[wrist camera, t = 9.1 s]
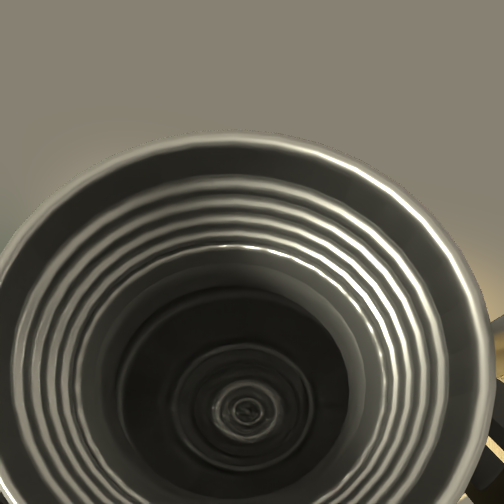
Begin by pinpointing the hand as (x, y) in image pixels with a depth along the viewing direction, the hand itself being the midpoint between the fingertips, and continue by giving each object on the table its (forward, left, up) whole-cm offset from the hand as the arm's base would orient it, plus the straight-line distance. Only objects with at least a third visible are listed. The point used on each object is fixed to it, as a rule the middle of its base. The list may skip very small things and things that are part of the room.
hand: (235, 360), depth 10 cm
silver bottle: (0, +2, -12) cm, 12 cm away
